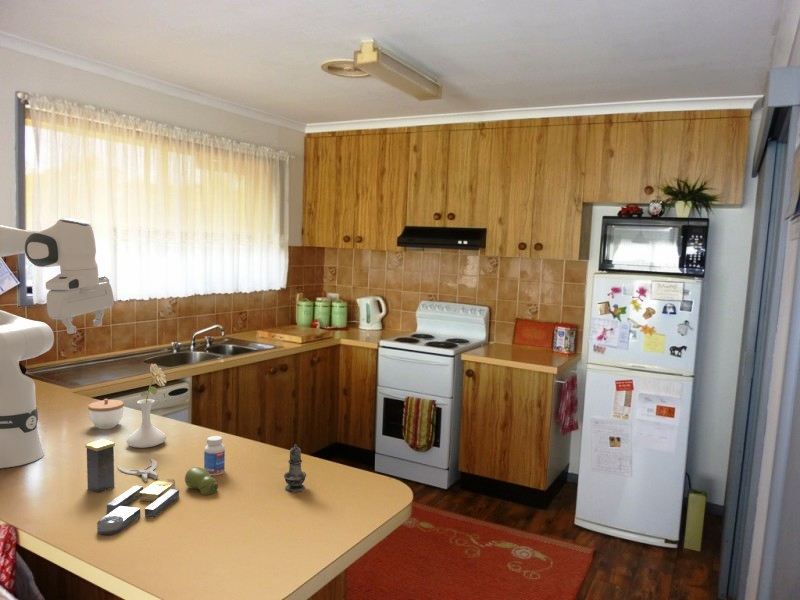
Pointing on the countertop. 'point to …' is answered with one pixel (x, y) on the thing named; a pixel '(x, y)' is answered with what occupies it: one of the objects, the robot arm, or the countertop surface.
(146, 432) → the flower in vase
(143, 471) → the pliers
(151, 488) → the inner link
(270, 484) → the countertop surface
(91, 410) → the lidded jar
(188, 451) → the countertop surface
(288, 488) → the salt shaker
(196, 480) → the pear
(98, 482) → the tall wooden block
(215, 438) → the pill bottle
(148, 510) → the grey metal bars
